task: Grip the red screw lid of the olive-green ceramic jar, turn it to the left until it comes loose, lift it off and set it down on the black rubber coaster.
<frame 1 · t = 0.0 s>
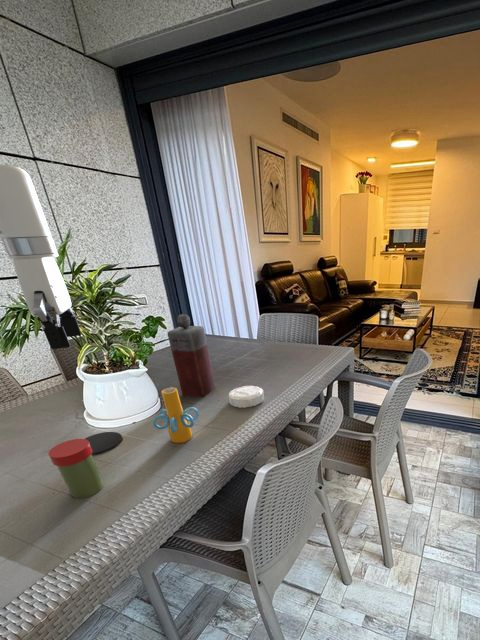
hand: (67, 341, 73), 33 cm above the table, tool pointing down, fingers open, 9 cm apart
coaster: (99, 444, 101), on the table
mooncake: (247, 401, 123), on the table
jar: (87, 488, 83), on the table
cylinder: (182, 438, 102), on the table
jar lid: (69, 449, 77), point 11 cm above the table, screwed on, not yet turned
red square decanter: (196, 391, 132), on the table
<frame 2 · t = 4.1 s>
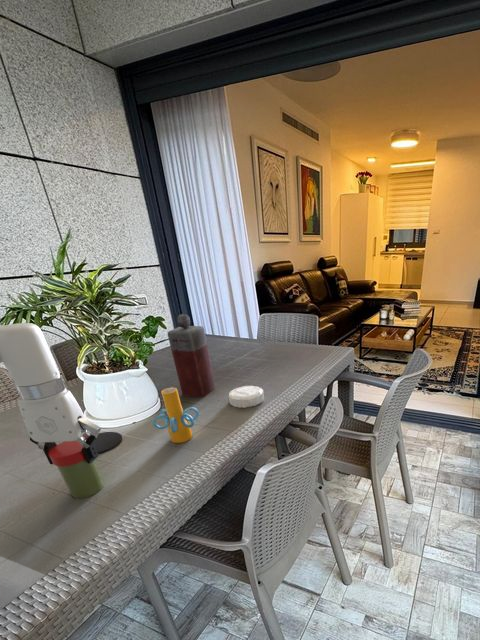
hand: (74, 460, 79), 8 cm above the table, tool pointing down, fingers closed on jar lid, 7 cm apart
jar lid: (69, 449, 77), point 11 cm above the table, screwed on, not yet turned, touching gripper
everything else where it was.
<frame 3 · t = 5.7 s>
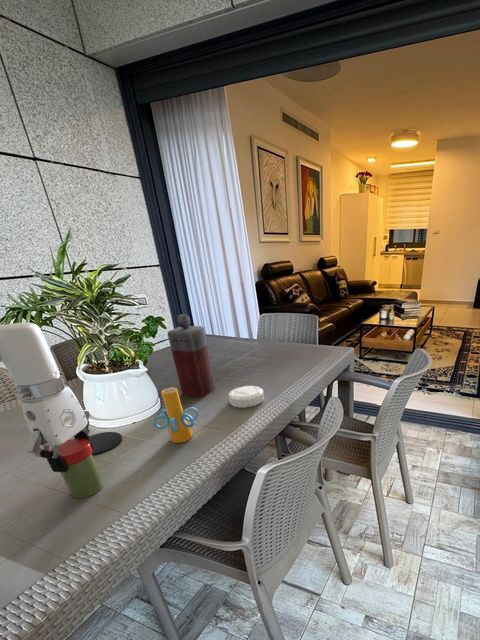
hand: (74, 459, 79), 8 cm above the table, tool pointing down, fingers closed on jar lid, 7 cm apart
jar lid: (69, 448, 77), point 11 cm above the table, turned 85° so far, risen 0.1 cm, still on its thread, touching gripper
everything else where it was.
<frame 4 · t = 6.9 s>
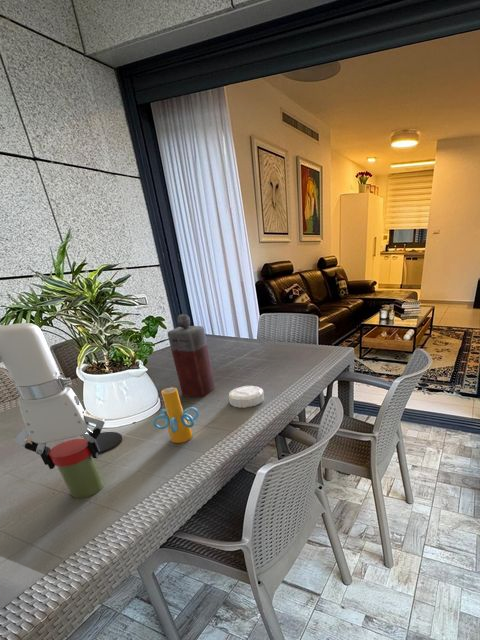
hand: (74, 460, 79), 8 cm above the table, tool pointing down, fingers closed on jar lid, 7 cm apart
jar lid: (69, 449, 77), point 11 cm above the table, off its thread, touching gripper
everything else where it was.
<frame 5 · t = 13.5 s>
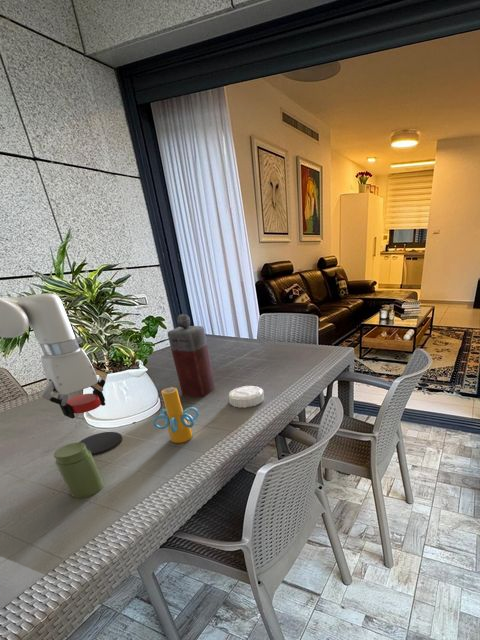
hand: (86, 410, 95), 11 cm above the table, tool pointing down, fingers closed on jar lid, 7 cm apart
jar lid: (82, 400, 94), point 14 cm above the table, off its thread, touching gripper
everything else where it was.
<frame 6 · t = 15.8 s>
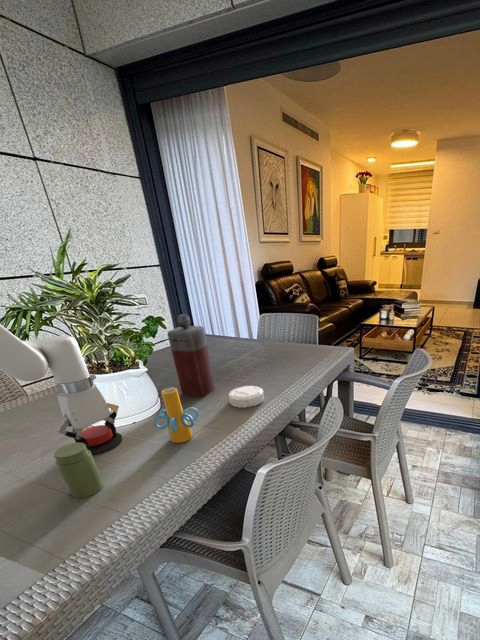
hand: (99, 441, 100), 1 cm above the table, tool pointing down, fingers closed on jar lid, 7 cm apart
jar lid: (95, 432, 99), point 4 cm above the table, off its thread, touching gripper
everything else where it was.
when the fingers open (1 cm above the table, at t = 23.3 s): jar lid drops 2 cm, resting on coaster.
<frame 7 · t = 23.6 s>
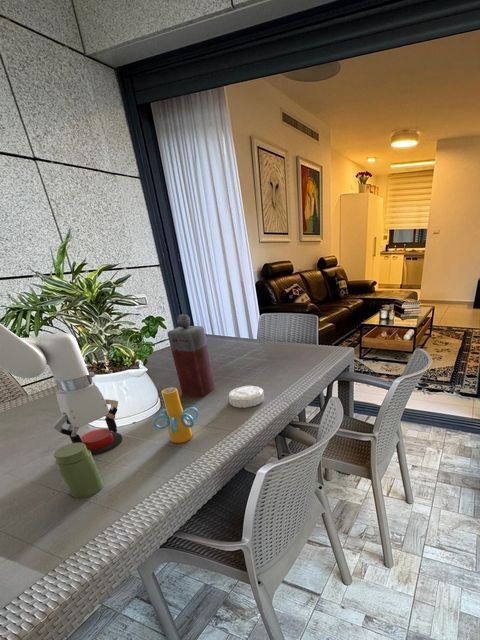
hand: (97, 438, 100), 2 cm above the table, tool pointing down, fingers open, 9 cm apart
jar lid: (96, 436, 99), point 2 cm above the table, off its thread, touching coaster
everything else where it was.
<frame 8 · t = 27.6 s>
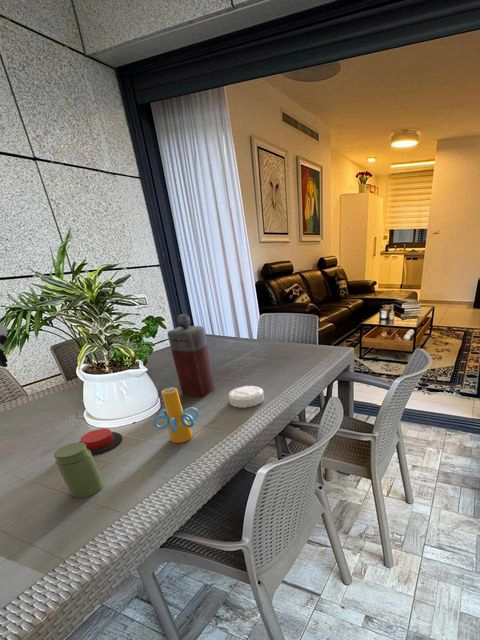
nothing on the table moved.
at the end: jar lid 0.0 cm from the coaster (horizontally); jar lid point 2.5 cm above the table; jar tilted 0° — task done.
